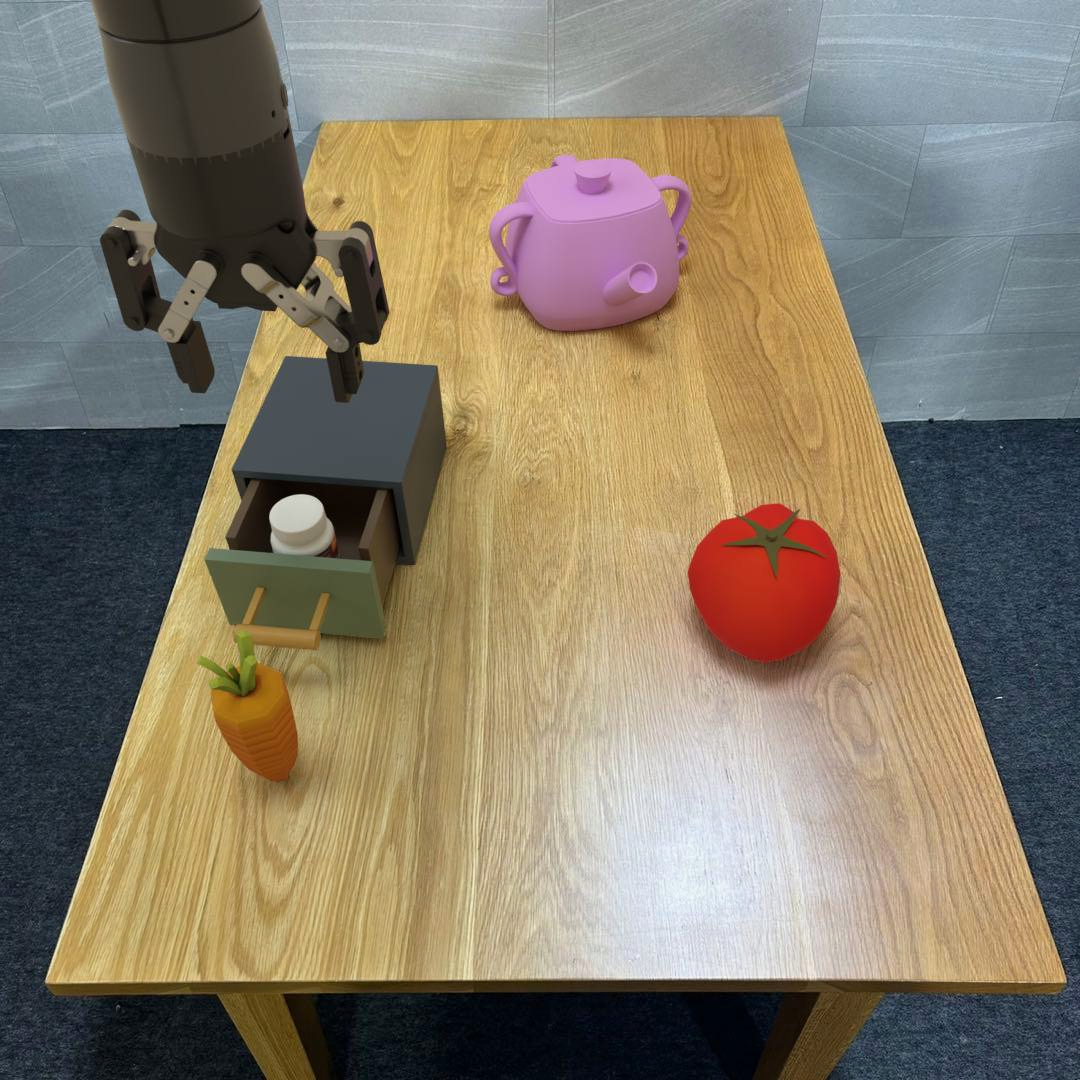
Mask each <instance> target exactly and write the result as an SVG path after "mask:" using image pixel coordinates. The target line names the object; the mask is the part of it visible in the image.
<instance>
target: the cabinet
mask: <svg viewBox="0 0 1080 1080" xmlns="http://www.w3.org/2000/svg"><path fill="white" fill-rule="evenodd" d="M362 362H363V368H364V375H363V378H362V381H361V384H360V386H359V389H358V391H357V394H352V397H351V399H350V402H349V403H341V402H336V401H335V398H334V393H333V388H332V383H331V378H330V373H329V368H328V363H327V358H325V357H312V356H311V357H310V356H297V355H296V356H295V355H285V356H284V358H283V359H282V362H281V364H280V366H279V369H278V370H277V372H276V374H275V377H274V379H273V381H272V383H271V385H270V387H269V389H268V392H267V394H266V395H265V397H264V400H263V402H262V404H261V406H260V408H259V411H258V413H257V415H256V417H255V419H254V421H253V423H252V425H251V427H250V429H249V432H248V434H247V436H246V438H245V440H244V442H243V444H242V445H241V446H242V447H241V448H240V450H239V453H238V455H237V457H236V458H235V461H234V463H233V465H232V468H231V473H232V476H233V479H234V483H235V485H236V489H237V491H238V492H237V493H238V494H239V498H240V502H241V501H242V499H243V497H244V494H245V492H246V490H247V488H248V485H249V483H250V481H251V479H252V478H258V479H271V480H284V481H298V482H311V483H324V484H338V485H351V486H364V487H378V488H391V489H393V492H394V498H395V503H396V509H397V515H398V521H399V527H400V532H401V538H402V542H401V545H400V548H399V552H398V555H397V559H396V562H395V564H401V565H413V566H415V565H416V563H417V559H418V556H419V552H420V548H421V545H422V541H423V537H424V534H425V530H426V526H427V522H428V519H429V515H430V512H431V508H432V505H433V501H434V497H435V493H436V490H437V487H438V482H439V479H440V475H441V471H442V468H443V464H444V461H445V457H446V453H447V449H448V445H447V435H446V428H445V427H446V425H445V418H444V408H443V399H442V391H441V383H440V374H439V365H437V364H422V363H421V364H420V363H405V362H391V361H389V362H387V361H375V360H374V361H373V360H362Z"/></svg>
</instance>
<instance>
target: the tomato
mask: <svg viewBox="0 0 1080 1080" xmlns="http://www.w3.org/2000/svg"><path fill="white" fill-rule="evenodd" d="M800 512H801V508H798V509H797V510H796V511H793V510H792V509H790V508H789V507H787V506H785V505H784V504H782V503H781V502H778V503H777V502H776V503H767V504H761V505H759V506H757V507H755V508H754V509H751V510H749V511H747V512H746V513H745V514H743V515H739V514H737V513H734V516H735V517H731V518H726V519H722V520H721V521H719V522H718V523H717V524H716V525H715V526H714V527H712V529H711V530H710V531H708V532H707V534H706V535H705V536H704V538H703V539H701V541H700V542H698V544H697V545H696V547H695V550H694V553H693V555H692V558H691V560H690V562H689V566H688V569H687V579H688V587H689V591H690V594H691V596H692V599H693V602H694V605H695V607H696V609H697V611H698V612H699V614H700V616H701V618H702V619H703V621H704V623H705V625H706V627H707V628H708V630H709V632H710V633H711V634H712V635H713V636H714V638H716V639H717V640H718V641H719V642H721V644H723V646H725V647H726V648H727V649H729V650H730V651H733V652H735V653H736V654H739V655H740V656H742V657H744V658H746V659H748V660H750V661H754V662H755V661H756V662H760V663H771V662H776V661H782V660H783V661H784V660H785V659H787V658H789V657H791V656H793V655H795V654H796V653H798V652H801V651H802V650H804V649H806V648H807V647H809V646H810V645H812V644H813V643H814V641H816V639H817V638H819V636H821V634H823V632H824V631H825V629H826V627H827V624H828V622H829V620H830V619H831V616H832V614H833V612H834V610H835V607H836V605H837V601H838V598H839V591H840V581H841V568H840V563H839V558H838V552H837V549H836V547H835V545H834V543H833V542H832V539H831V537H830V534H829V533H828V531H826V530H824V528H822V526H820V525H819V524H818V523H817V522H816V521H815V520H810V519H803V518H798V514H799V513H800Z"/></svg>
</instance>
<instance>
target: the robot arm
mask: <svg viewBox="0 0 1080 1080" xmlns="http://www.w3.org/2000/svg"><path fill="white" fill-rule="evenodd" d="M90 3H91V6H92V9H93V13H94V16H95V19H96V22H97V27H98V31H99V35H100V39H101V45H102V51H103V56H104V63H105V68H106V73H107V77H108V82H109V85H110V88H111V92H112V95H113V99H114V101H115V105H116V107H117V111H118V115H119V117H120V121H121V123H122V127H123V131H124V133H125V137H126V140H127V144H128V146H129V150H130V153H131V156H132V160H133V162H134V165H135V169H136V172H137V175H138V179H139V182H140V184H141V189H142V192H143V195H144V198H145V201H146V204H147V207H148V210H149V213H150V216H151V217H152V219H153V221H154V222H150V221H142V219H141V218H140V216H139V215H138V214H137V213H136V212H134V211H133V210H130V209H122V210H120V212H118V214H117V215H116V216H115V218H114V219H113V220H112V221H111V223H110V224H109V225H108V227H107V228H106V229H105V231H104V232H103V233H102V234H101V235H100V237H99V243H100V247H101V250H102V253H103V257H104V260H105V263H106V268H107V270H108V274H109V277H110V281H111V284H112V287H113V290H114V295H115V298H116V301H117V304H118V307H119V311H120V314H121V315H120V316H121V318H122V321H123V324H124V325H125V327H127V328H128V329H130V330H132V331H133V332H142V331H143V330H144V329H147V330H150V331H153V332H156V333H157V334H158V335H159V337H160V338H161V339H162V340H163V341H165V342H166V345H167V348H168V351H169V354H170V358H171V359H172V363H173V366H174V369H175V372H176V375H177V377H178V378H179V380H180V381H181V382H182V384H188V388H189V391H190V392H191V393H193V394H206V393H207V391H208V389H209V388H210V386H211V384H212V383H213V380H214V378H215V373H216V372H215V371H216V370H215V366H214V363H213V359H212V356H211V353H210V349H209V346H208V342H207V339H206V335H205V332H204V329H203V326H202V323H201V320H194V316H195V314H196V312H197V311H198V310H199V307H200V306H201V304H202V303H203V301H204V299H207V300H208V301H210V302H212V303H215V304H217V306H218V309H219V310H221V309H223V310H235V309H236V310H237V309H241V308H250V309H253V310H258V311H261V312H276V311H277V310H278V309H280V311H282V312H283V313H284V314H285V315H286V316H287V317H288V318H290V320H291V321H293V322H294V323H295V324H296V325H297V326H298V327H300V328H301V329H306V328H307V329H309V330H310V331H311V332H312V333H313V334H314V335H315V336H316V337H317V338H318V339H320V341H321V342H322V343H324V344H325V345H326V346H327V348H326V350H325V357H326V358H327V363H328V368H329V373H330V378H331V383H332V388H333V393H334V398H335V401H336V402H341V403H349V402H350V399H351V397H352V394H357V391H358V389H359V386H360V384H361V381H362V378H363V375H364V368H363V362H362V361H363V356H362V350H361V344H364V345H367V346H373V345H376V344H378V343H379V342H380V339H381V337H382V331H383V329H384V326H385V323H386V322H387V321H388V319H389V315H390V306H389V303H388V298H387V294H386V293H387V292H386V288H385V283H384V279H383V275H382V269H381V265H380V260H379V256H378V255H379V254H378V251H377V250H378V249H377V245H376V241H375V236H374V232H373V228H372V227H371V226H370V224H368V223H367V222H366V221H363V220H356V221H354V222H352V223H351V225H349V226H350V227H349V228H348V230H319V229H318V228H317V226H316V225H315V224H314V223H313V221H312V219H311V218H310V217H309V215H308V211H307V208H306V199H305V192H304V186H303V180H302V175H301V171H300V165H299V159H298V155H297V150H296V145H295V140H294V135H293V129H292V125H291V119H290V113H289V96H288V91H287V90H288V89H287V85H286V83H285V82H284V80H283V78H282V72H281V67H280V62H279V58H278V53H277V50H276V46H275V44H274V40H273V37H272V34H271V32H270V28H269V25H268V22H267V20H266V16H265V12H264V8H263V4H262V0H90ZM156 251H157V253H158V254H159V255H160V256H161V258H162V259H164V260H165V261H166V262H167V263H168V264H169V265H170V266H171V267H172V268H173V269H174V270H175V271H177V273H179V275H180V276H181V277H182V278H184V281H183V283H182V285H181V287H180V288H179V290H178V292H177V294H176V295H175V297H174V299H173V301H170V300H167V299H165V298H162V297H161V294H160V289H159V285H158V282H157V281H158V280H157V279H156V278H157V277H156V274H155V270H154V266H153V262H152V257H153V256H154V254H155V252H156ZM317 257H320V258H323V259H325V260H327V261H328V263H329V264H330V266H331V269H332V270H333V272H334V275H335V276H336V277H338V278H342V277H343V281H344V284H345V288H346V293H347V296H348V297H347V298H348V301H349V304H348V303H347V302H346V301H345V300H344V299H343V298H342V297H341V296H340V295H339V294H338V293H337V292H336V290H335V287H334V282H332V280H331V278H329V277H328V276H327V275H326V274H325V273H324V272H323V270H322V269H320V268H319V266H317V265H316V264H315V261H316V260H317V259H316V258H317ZM300 285H302V286H303V288H304V290H305V296H303V295H302V294H301V293H300V292H298V291H297V290H298V289H299V287H300Z"/></svg>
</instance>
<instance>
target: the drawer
mask: <svg viewBox="0 0 1080 1080" xmlns="http://www.w3.org/2000/svg"><path fill="white" fill-rule="evenodd" d="M300 494H303V495H310V496H313V497H315V498H317V499H318V500H319V501H320V502H321V503H322V505H323V508H324V511H325V514H326V517H327V518H328V519H329V520H330V522H331V523H332V525H333V527H334V531H335V536H336V540H337V544H338V548H339V552H340V557H341V559H338V558H326V557H314V556H302V555H289V554H277V553H274V552H273V549H272V545H271V541H270V540H271V533H272V528H271V524H270V519H269V516H270V511H271V510H272V508H273V507H274V505H275V504H276V503H278V502H279V501H280V500H282V499H284V498H286V497H289V496H292V495H300ZM225 540H226V544H227V547H228V549H226V548H217V547H216V548H215V547H210V548H208V550H207V552H206V555H205V557H204V559H203V560H204V562H205V565H206V568H207V570H208V573H209V575H210V578H211V581H212V583H213V586H214V588H215V591H216V594H217V597H218V599H219V602H220V604H221V607H222V609H223V612H224V614H225V617H226V619H227V622H228V624H229V625H230V626H234V629H233V633H232V634H233V635H232V636H233V642H234V643H235V644H237V638H236V633H238V632H240V631H244V632H249V633H250V635H251V637H252V642H253V646H263V647H274V648H282V649H283V648H286V649H294V650H295V649H296V650H306V651H307V650H308V651H317V650H319V648H320V645H321V638H322V637H321V634H324V635H325V634H326V635H335V636H336V635H337V636H347V637H357V638H358V637H359V638H368V639H369V638H370V639H379V640H381V639H384V638H385V635H386V631H387V629H388V627H387V621H386V618H385V612H384V608H383V606H384V603H385V599H386V596H387V592H388V589H389V586H390V583H391V579H392V577H393V576H392V575H393V572H394V569H395V566H396V563H395V562H396V559H397V555H398V552H399V548H400V545H401V542H402V538H401V532H400V527H399V521H398V515H397V509H396V503H395V498H394V492H393V489H391V488H378V487H364V486H351V485H338V484H324V483H311V482H298V481H284V480H271V479H258V478H252V479H251V481H250V483H249V485H248V488H247V490H246V492H245V494H244V497H243V499H242V501H241V500H240V503H239V505H238V508H237V510H236V512H235V515H234V517H233V518H232V521H231V523H230V525H229V528H228V530H227V532H226V534H225Z"/></svg>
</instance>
